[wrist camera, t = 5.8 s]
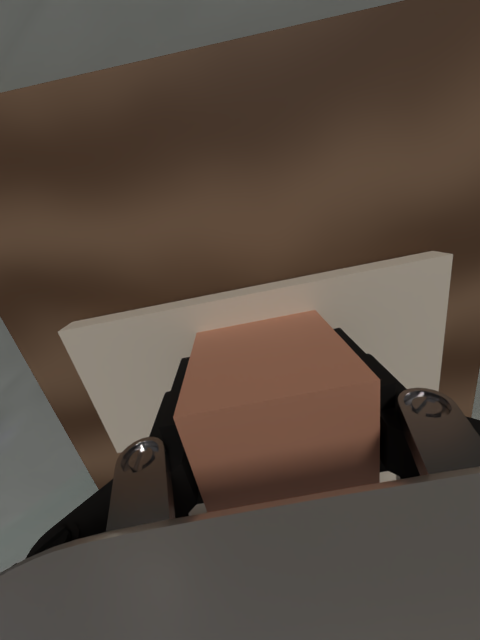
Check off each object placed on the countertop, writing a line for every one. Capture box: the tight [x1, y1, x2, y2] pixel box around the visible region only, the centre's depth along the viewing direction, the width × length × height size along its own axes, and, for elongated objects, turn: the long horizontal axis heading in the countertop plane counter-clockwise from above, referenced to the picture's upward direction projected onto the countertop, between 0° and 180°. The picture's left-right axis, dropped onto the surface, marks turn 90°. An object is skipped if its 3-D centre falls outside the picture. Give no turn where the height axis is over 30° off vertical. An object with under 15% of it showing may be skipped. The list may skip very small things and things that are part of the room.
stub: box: [58, 251, 453, 513], centre depth 10 cm, size 7×16×6 cm, turn 101°
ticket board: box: [0, 0, 480, 515], centre depth 14 cm, size 29×22×3 cm
